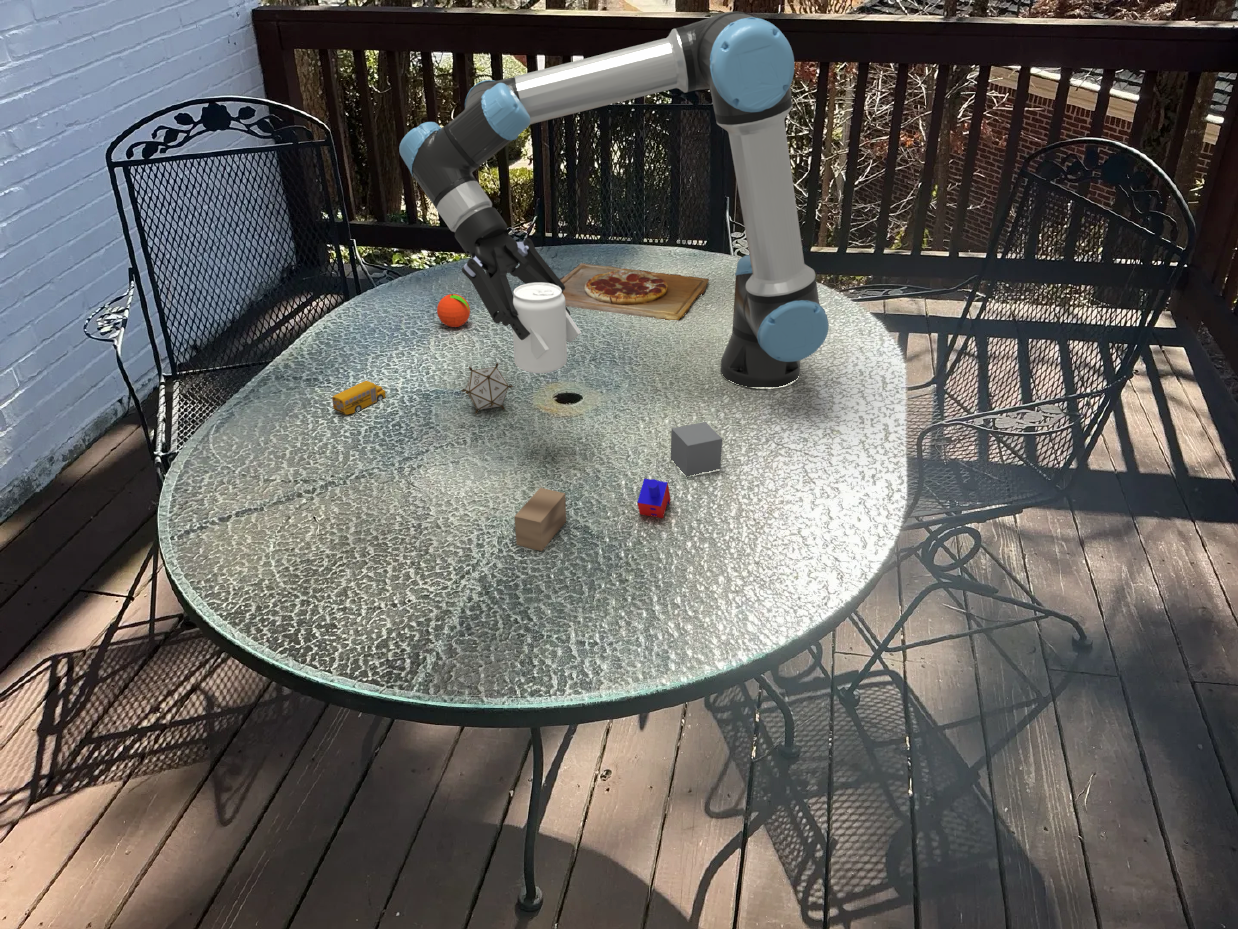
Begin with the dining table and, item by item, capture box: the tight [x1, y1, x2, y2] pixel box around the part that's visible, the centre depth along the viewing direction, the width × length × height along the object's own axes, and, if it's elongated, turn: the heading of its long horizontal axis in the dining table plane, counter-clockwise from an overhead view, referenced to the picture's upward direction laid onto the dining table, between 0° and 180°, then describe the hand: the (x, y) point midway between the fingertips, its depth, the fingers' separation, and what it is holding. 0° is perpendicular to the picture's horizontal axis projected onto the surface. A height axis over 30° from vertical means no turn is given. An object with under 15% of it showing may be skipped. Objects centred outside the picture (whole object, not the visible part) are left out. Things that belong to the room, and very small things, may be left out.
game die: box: [460, 362, 514, 415], centre depth 166 cm, size 9×8×10 cm
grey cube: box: [670, 421, 723, 477], centre depth 150 cm, size 6×6×6 cm
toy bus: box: [331, 380, 386, 416], centre depth 168 cm, size 3×10×4 cm, turn 145°
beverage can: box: [512, 283, 568, 374], centre depth 142 cm, size 8×8×12 cm
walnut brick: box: [514, 487, 567, 552], centre depth 134 cm, size 8×4×5 cm, turn 158°
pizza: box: [559, 262, 710, 321], centre depth 217 cm, size 35×28×4 cm
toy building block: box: [636, 478, 671, 519], centre depth 138 cm, size 4×4×8 cm
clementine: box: [436, 293, 471, 328], centre depth 198 cm, size 8×7×7 cm
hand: (559, 345), depth 141 cm, fingers closed on beverage can, 7 cm apart
